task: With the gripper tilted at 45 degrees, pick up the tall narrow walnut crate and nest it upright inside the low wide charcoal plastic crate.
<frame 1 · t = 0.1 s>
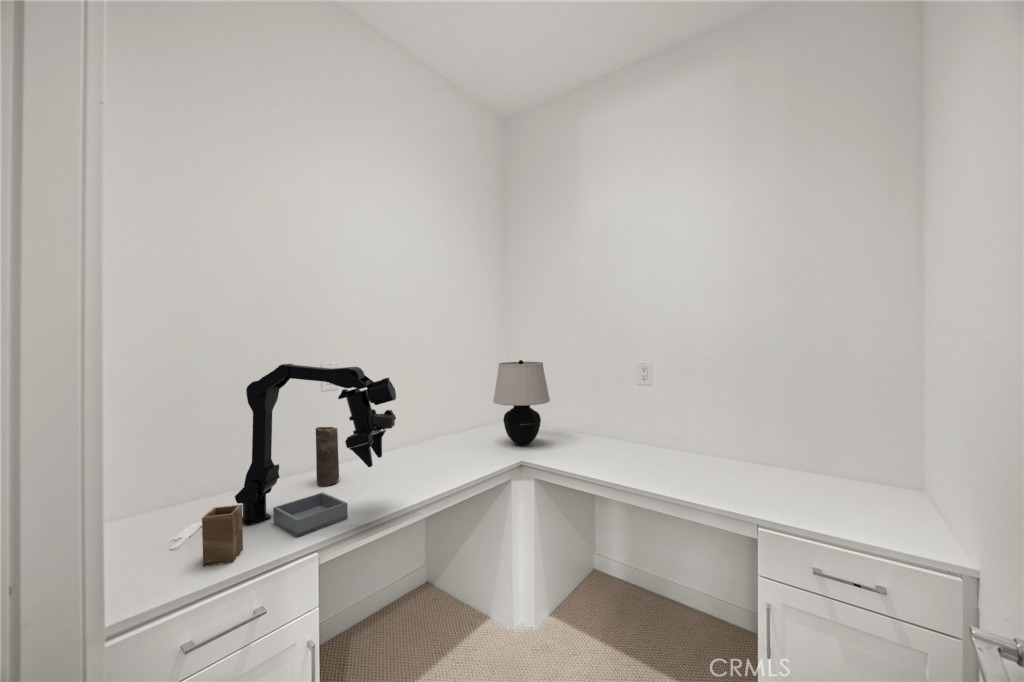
hand: (375, 461, 120), 15 cm above the table, tool pointing down, fingers open, 9 cm apart
white elongated piece: (181, 539, 109), on the table
table lamp: (522, 444, 197), on the table
walnut crate: (223, 557, 98), on the table
candle: (328, 483, 148), on the table
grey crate: (311, 521, 117), on the table
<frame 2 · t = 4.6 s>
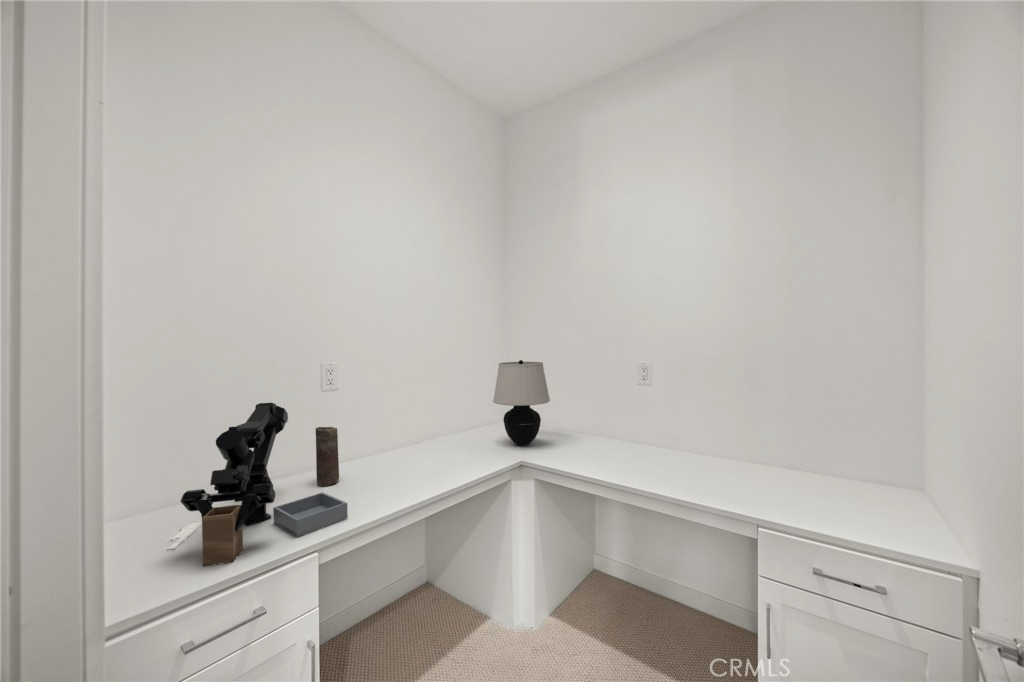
hand: (220, 532, 96), 7 cm above the table, tool tilted 45°, fingers closed on walnut crate, 6 cm apart
walnut crate: (223, 557, 98), on the table, touching gripper
everything else where it was.
when the fingers open (9 cm above the table, at t = 9.0 s): walnut crate drops 1 cm, resting on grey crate.
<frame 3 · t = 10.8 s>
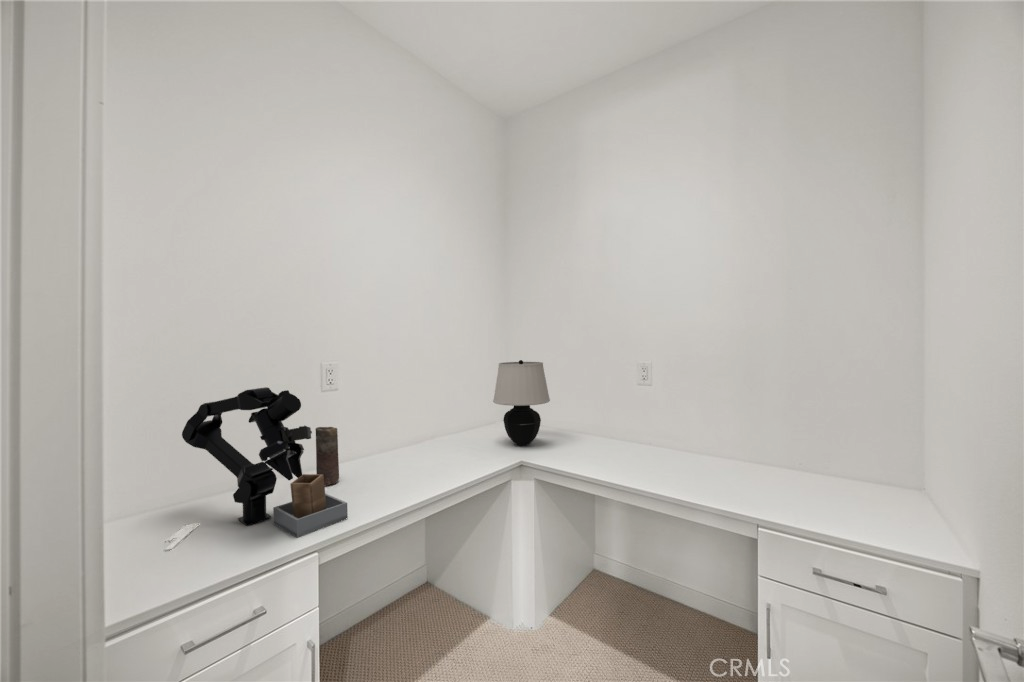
hand: (296, 478, 114), 13 cm above the table, tool tilted 30°, fingers open, 9 cm apart
walnut crate: (310, 516, 117), point 1 cm above the table, tilted 7°, touching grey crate
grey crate: (311, 521, 117), on the table, touching walnut crate
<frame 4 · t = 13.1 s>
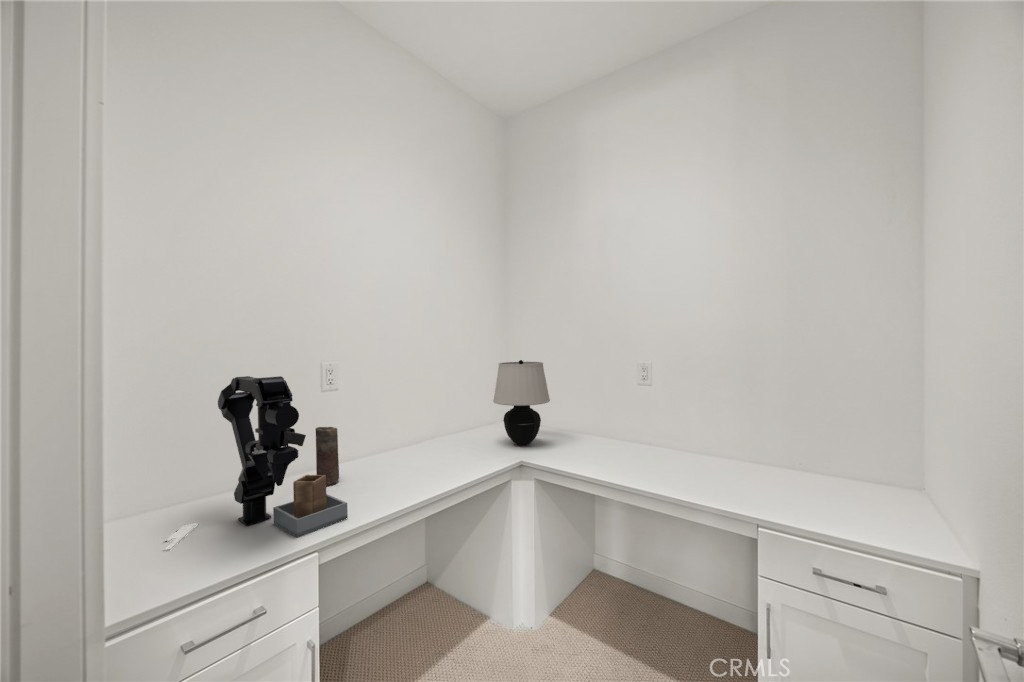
hand: (271, 482, 111), 13 cm above the table, tool pointing down, fingers open, 9 cm apart
walnut crate: (310, 517, 117), point 1 cm above the table, touching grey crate
at the end: walnut crate inside the target area on the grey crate (0.0 cm from its centre), point 1.0 cm above the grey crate's base; walnut crate tilted 0°; the gripper is holding nothing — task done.
